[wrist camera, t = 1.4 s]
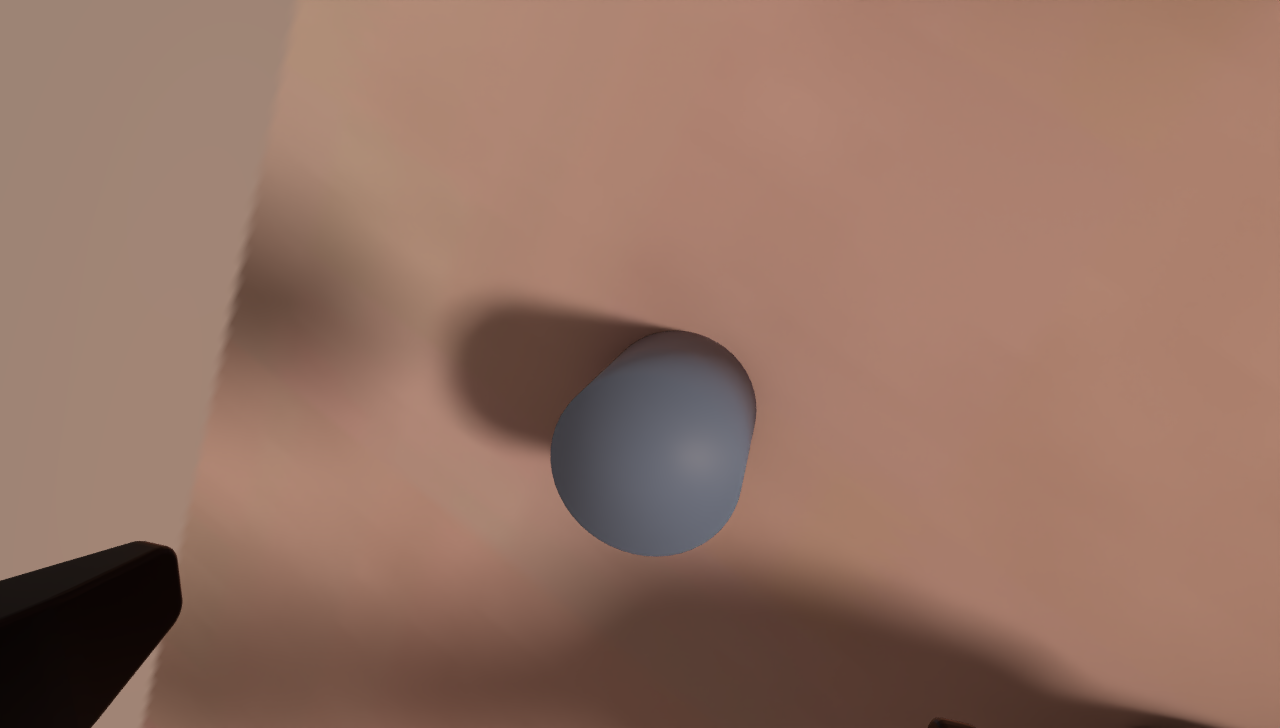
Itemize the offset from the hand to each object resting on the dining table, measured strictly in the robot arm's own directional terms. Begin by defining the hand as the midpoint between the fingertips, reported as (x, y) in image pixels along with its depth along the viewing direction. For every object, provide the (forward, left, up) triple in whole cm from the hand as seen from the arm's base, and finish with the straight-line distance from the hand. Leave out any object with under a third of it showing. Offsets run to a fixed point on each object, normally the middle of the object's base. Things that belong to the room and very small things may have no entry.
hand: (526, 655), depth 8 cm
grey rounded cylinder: (-1, 0, -12) cm, 12 cm away
